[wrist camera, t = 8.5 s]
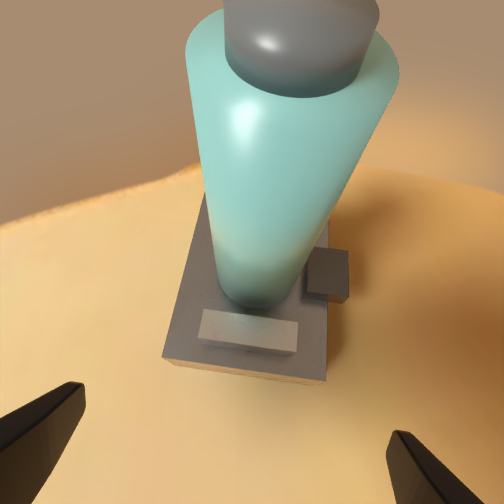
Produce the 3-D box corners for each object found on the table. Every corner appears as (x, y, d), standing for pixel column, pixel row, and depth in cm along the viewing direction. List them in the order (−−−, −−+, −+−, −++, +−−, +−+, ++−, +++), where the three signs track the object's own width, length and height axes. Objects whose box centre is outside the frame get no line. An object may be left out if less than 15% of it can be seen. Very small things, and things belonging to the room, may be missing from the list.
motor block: (323, 387, 19) (354, 382, 14) (175, 365, 20) (152, 352, 14) (326, 232, 25) (350, 187, 20) (210, 216, 25) (203, 168, 20)
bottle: (273, 323, 17) (378, 119, 5) (201, 282, 18) (122, 16, 5) (308, 257, 19) (449, -11, 7) (242, 222, 20) (255, -70, 7)
